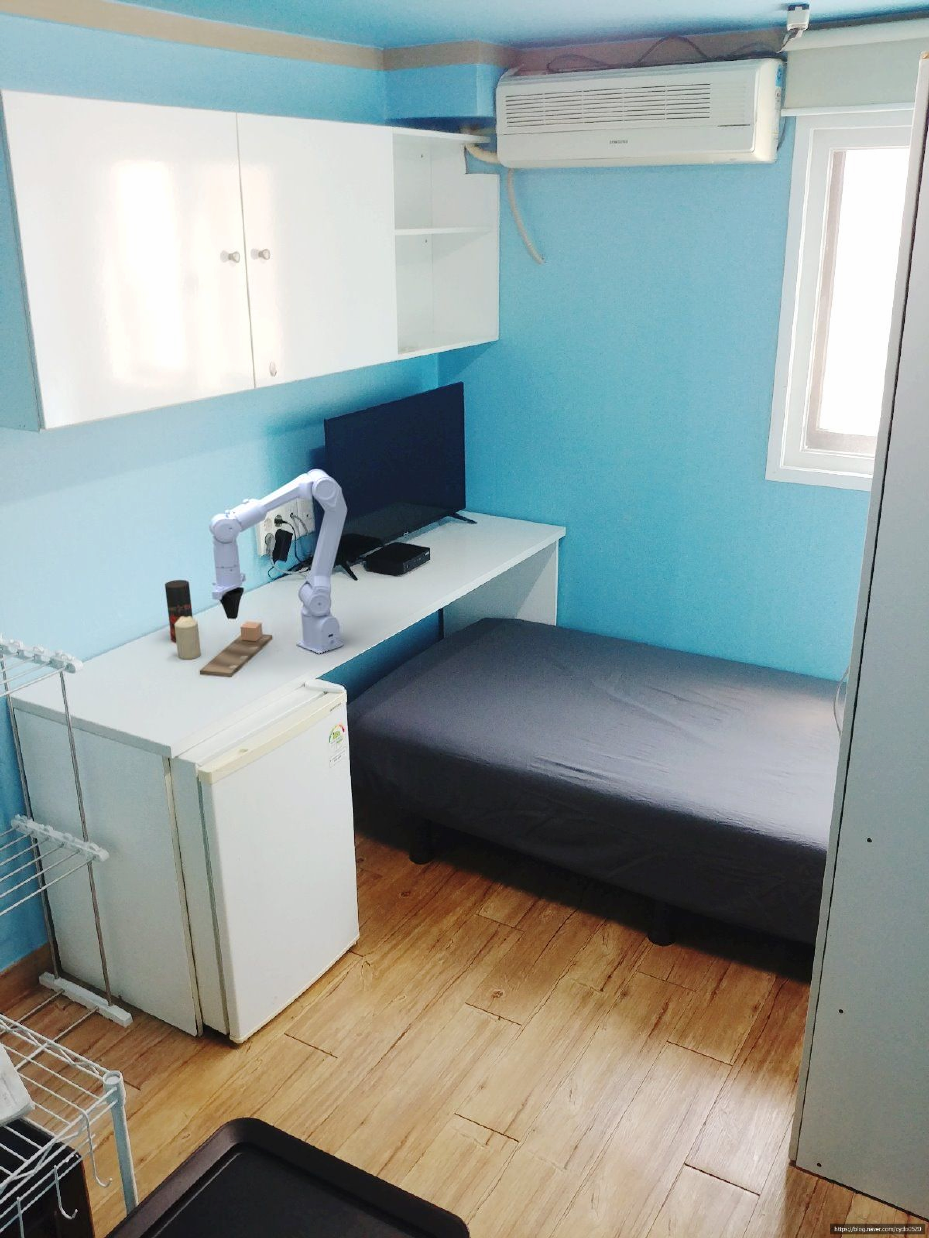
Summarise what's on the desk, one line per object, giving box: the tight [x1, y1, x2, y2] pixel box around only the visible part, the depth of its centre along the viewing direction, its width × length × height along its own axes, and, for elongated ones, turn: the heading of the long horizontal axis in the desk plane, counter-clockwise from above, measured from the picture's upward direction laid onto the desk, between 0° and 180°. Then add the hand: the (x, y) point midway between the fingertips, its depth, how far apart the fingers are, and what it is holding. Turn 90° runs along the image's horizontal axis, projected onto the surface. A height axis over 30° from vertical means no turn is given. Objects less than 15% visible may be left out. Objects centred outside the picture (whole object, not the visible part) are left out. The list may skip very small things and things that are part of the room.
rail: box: [198, 633, 273, 678], centre depth 266 cm, size 25×8×1 cm, turn 167°
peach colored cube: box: [240, 621, 264, 641], centre depth 273 cm, size 4×4×4 cm
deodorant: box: [164, 579, 194, 644], centre depth 274 cm, size 6×6×15 cm
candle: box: [175, 616, 202, 660], centre depth 265 cm, size 6×6×10 cm
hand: (232, 617), depth 261 cm, fingers closed
